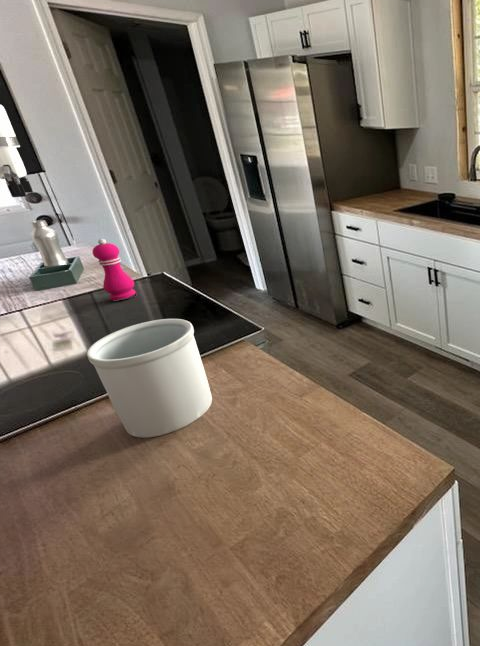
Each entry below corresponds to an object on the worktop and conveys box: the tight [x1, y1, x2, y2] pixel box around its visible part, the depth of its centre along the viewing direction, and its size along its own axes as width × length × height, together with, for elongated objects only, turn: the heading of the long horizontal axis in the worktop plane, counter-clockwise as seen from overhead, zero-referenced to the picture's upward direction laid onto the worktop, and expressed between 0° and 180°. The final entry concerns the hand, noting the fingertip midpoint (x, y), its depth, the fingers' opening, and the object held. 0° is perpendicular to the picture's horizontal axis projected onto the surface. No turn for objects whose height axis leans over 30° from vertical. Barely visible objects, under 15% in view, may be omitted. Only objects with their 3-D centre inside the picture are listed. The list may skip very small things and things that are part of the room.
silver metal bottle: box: [29, 219, 70, 268], centre depth 149 cm, size 6×7×20 cm
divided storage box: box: [28, 255, 85, 292], centre depth 149 cm, size 10×19×5 cm, turn 39°
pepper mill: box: [92, 238, 137, 301], centre depth 130 cm, size 7×7×20 cm
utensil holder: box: [86, 318, 213, 439], centre depth 79 cm, size 15×15×18 cm
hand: (23, 194), depth 142 cm, fingers open, 9 cm apart
